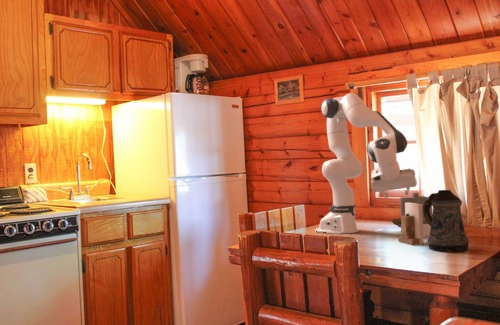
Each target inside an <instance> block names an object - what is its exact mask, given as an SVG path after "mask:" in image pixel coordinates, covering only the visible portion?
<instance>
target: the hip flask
mask: <svg viewBox="0 0 500 325" xmlns="http://www.w3.org/2000/svg"><path fill="white" fill-rule="evenodd" d="M411 195H412V196H405V197H400V198H399V199H400V200H399V201H400V217H401V216H404V215H405V203H416V204H423V205H424V202H425V201H426V200H429V196H422V195H420V192H415V191H414V192H412V193H411ZM429 211H430V215H431V217H432V214H433V206H430V210H429ZM423 218H425V217H424V214H423Z"/></svg>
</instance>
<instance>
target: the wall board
mask: <svg viewBox="0 0 500 325" xmlns="http://www.w3.org/2000/svg"><path fill="white" fill-rule="evenodd" d="M406 214H409V215H410V216H414V222H415V238H411V239H406V238H402V237H401V235H400V236H397V238H398V242H399V243H403V244H406V245H409V246H419V245H421V246H422V245H424V236H423V204H416V203H405V215H406Z"/></svg>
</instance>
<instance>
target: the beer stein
mask: <svg viewBox="0 0 500 325" xmlns="http://www.w3.org/2000/svg"><path fill="white" fill-rule="evenodd" d="M428 197H429V200H426V201H425V202H424V205H423V214H424V217H425V219H426V221H427V222H428V224H429V225H430V226H431V230H430V235H429V236H428V238H427V245H428V249H429V250H430V251H433V252H439V253H451V252H452V253H453V254H454V253H465V252H467V251H469V244H470V241H469V239H468V237H467V234H466V231H465V226H464V222H463V220H464V219H463V218H462V215H461V214H462V209H461V208H462V204H463V200H461V198H460V197H458V196H457V195H455V194H454V193H453V191H452V190H451V189H440V190H438V192H435V193H433V192H432V193H431V194H429V196H428ZM430 206H432V217H431V215H430V211H429V210H430Z"/></svg>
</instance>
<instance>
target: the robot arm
mask: <svg viewBox="0 0 500 325" xmlns="http://www.w3.org/2000/svg"><path fill="white" fill-rule="evenodd" d="M320 105H321V106H320V108H321V110H320V111H321V114H322V115H323V117H324V118H326V134H327V140H328V141H327V142H328V148H329V150H330V151H331V152H332V153H334V155H335V156H336V158H333V159H329V160H327V161H324V162H323V164H322V167H321V173H322V175H323V177H324V178H325V179H327V181H328V183H329V185H330V187H331V191H332V204H331V206H329V207H328V208H329V212H328V213H327V214H326V215H325V216H324V217H322V218H321V219H320V221H319V227H317V228H315V232H316V231H317V232H316V233H323V232H326V234H336V235H343V234H353V233H354V234H355V233H358V232H359V229H358V227H357V226H358V225H357V222H356V214H357V213H356V204H355V192H354V189H353V188H352V187H351V186H350V185H349V183H348V180H349V179H355V178H357V177H360V176H361V175H362V174H363V170H364V165H363V162H362V161H361V160H360V159H358V157H356V154H355V153H354V151H353V149H352V147H351V143H350V137H349V130H348V126H347V125H348V124H347V121H348V122H349V123H350V124H351V125H352V126H353V127H355V128H361V129H362V128H369V127H370V128H371V127H377V128H380V129H381V130H382V131H383V132H384V133H385V134H386V135H384V136H381V137H379V138H376V139H374V140H371V141H369V142H368V143H367V145H366V149H365V150H366V152H367V157H368V159H369V160H370V161H371V162H373V163H376V164H378V167H377V168H375V169H373V170H372V171H371V178H370V179H371V181H370V182H371V184H370V186H371V190H372V192H373V193H381V194H382V195H383V196H384V198H385V199H387V198H389V193H388V192H386V191H394V190H395V191H396V190H401V189H405V190H404V194H405V196H407V195H410V188H415V187H416V186H417V185H418V184H417V182H418V180H417V177H416V173H415V172H416V171H415V170H414V169H411V168H406V169H405V168H404V169H400V168H401V167H400V164H399V161H398V160H397V154H400V153H403V152H405V150H406V149H407V146H408V140H407V138H406V136H405V134H404V133H402V132H401V131H400V130H398V129H397V128H396V127H395V126H394V125H393V124H392V123H391V122H390V121H389V120H388V119H387V118H386V117H385V116H384V115H383V114H382V113H381V112H379V111H378V110H373V109H371V108H369V107H367V105H366V103H365V101H364V100H363V99H362V98H361V97H360V96H358V94H357V93H352V92H351V93H350V92H349V93H346V94H345V95H344V96H340V97H329V98H326V99H324V100H323V101H322V103H321V104H320Z"/></svg>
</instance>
